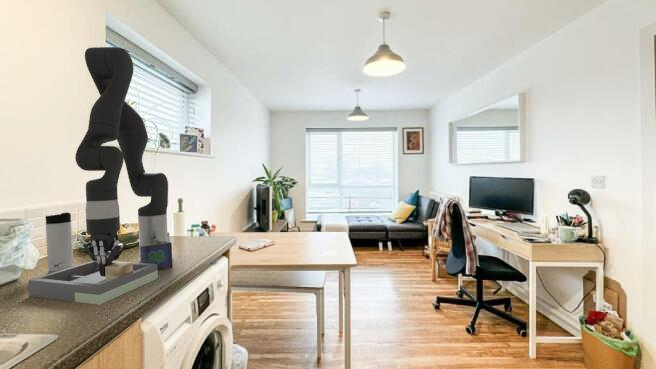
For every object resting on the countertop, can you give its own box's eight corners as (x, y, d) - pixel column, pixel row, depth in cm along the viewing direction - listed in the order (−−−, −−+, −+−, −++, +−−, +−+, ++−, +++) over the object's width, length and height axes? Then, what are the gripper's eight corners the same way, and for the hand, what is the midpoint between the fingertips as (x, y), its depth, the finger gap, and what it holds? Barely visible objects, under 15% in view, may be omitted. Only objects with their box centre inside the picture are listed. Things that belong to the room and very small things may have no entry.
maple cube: (121, 276, 83) (120, 261, 83) (133, 278, 82) (132, 262, 82) (105, 282, 79) (105, 266, 79) (118, 284, 78) (118, 267, 78)
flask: (140, 273, 93) (139, 241, 93) (141, 270, 96) (140, 239, 95) (172, 268, 98) (171, 237, 98) (172, 265, 100) (171, 236, 100)
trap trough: (97, 272, 94) (96, 259, 94) (157, 278, 88) (157, 264, 88) (29, 296, 76) (28, 279, 76) (99, 304, 71) (98, 287, 71)
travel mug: (59, 275, 92) (55, 214, 91) (43, 273, 94) (39, 213, 93) (79, 268, 98) (76, 211, 98) (64, 267, 100) (61, 211, 99)
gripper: (133, 214, 83) (136, 272, 84) (98, 213, 86) (100, 269, 87) (109, 218, 76) (112, 282, 77) (70, 217, 79) (73, 278, 79)
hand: (105, 275), depth 82 cm, fingers closed
